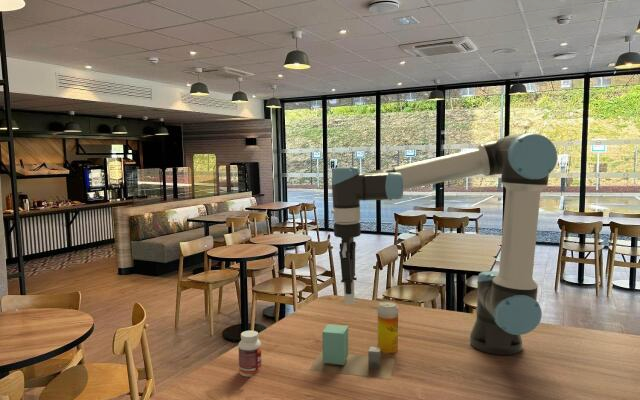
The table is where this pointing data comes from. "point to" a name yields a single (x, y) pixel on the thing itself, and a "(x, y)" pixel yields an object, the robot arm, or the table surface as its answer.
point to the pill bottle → (249, 353)
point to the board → (355, 366)
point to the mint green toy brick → (335, 344)
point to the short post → (374, 358)
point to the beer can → (387, 327)
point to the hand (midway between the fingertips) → (349, 303)
